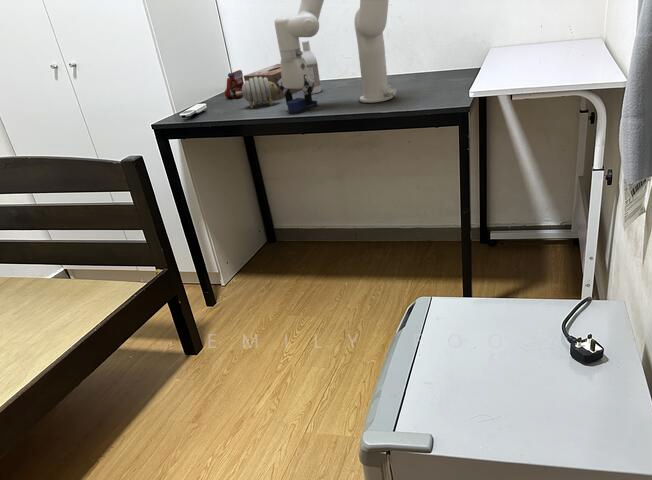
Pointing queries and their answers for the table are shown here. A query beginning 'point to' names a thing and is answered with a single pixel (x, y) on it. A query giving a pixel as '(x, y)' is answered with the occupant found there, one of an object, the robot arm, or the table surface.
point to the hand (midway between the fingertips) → (299, 104)
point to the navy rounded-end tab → (299, 105)
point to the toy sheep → (258, 91)
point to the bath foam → (311, 66)
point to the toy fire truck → (234, 84)
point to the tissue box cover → (270, 79)
